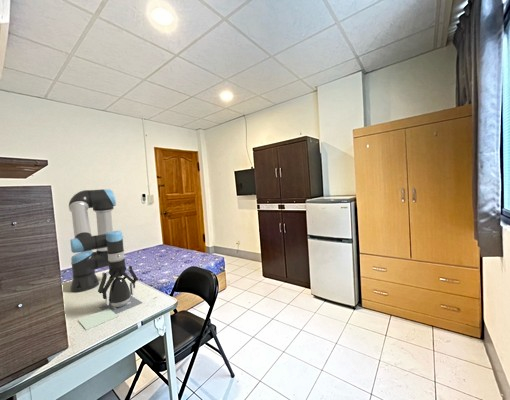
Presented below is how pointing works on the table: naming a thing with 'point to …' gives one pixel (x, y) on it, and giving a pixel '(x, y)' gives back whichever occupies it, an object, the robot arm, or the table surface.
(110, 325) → the table surface
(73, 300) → the table surface
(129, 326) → the table surface
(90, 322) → the mat
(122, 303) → the pump dispenser
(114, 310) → the tile
